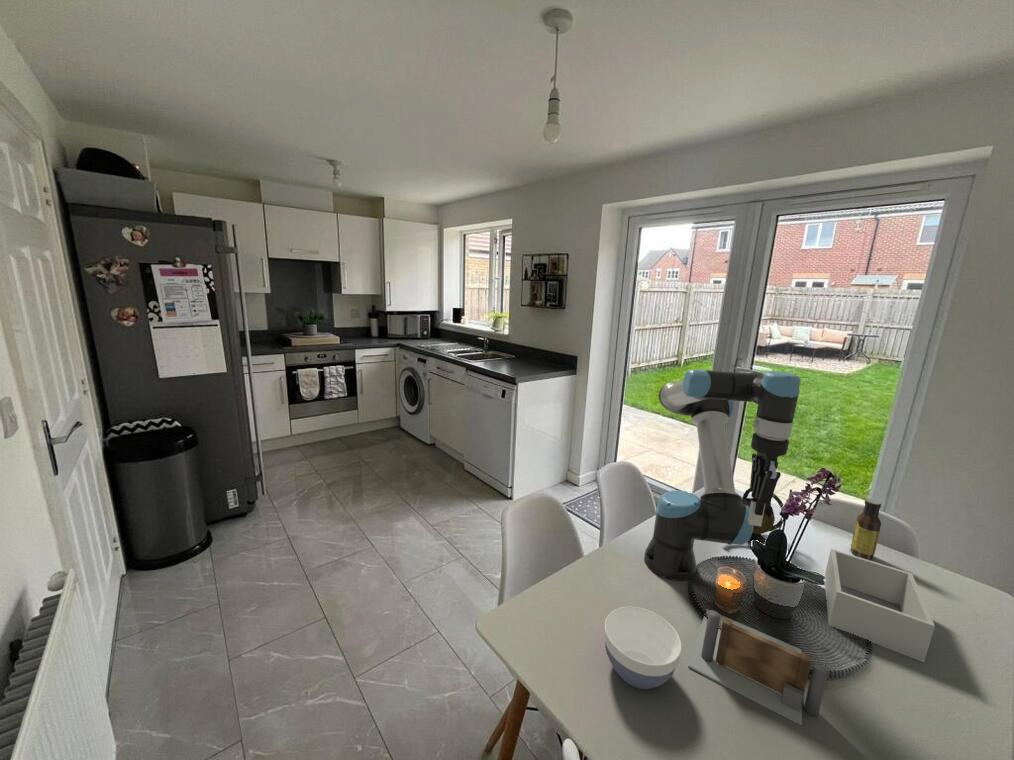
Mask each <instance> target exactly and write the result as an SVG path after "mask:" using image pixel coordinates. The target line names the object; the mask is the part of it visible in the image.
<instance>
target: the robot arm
mask: <svg viewBox="0 0 1014 760" xmlns="http://www.w3.org/2000/svg"><path fill="white" fill-rule="evenodd" d="M800 387H801V378H800V376H798V375H797V374H794V373H788V372H783V371H766V372H765V373H762V372H757V371H747V372H734V371H719V370H718V371H717V370H710V369H709V370H708V369H703V368H702V369H700V368H699V369H688V370H686V372H685V374H684V376H683V380H680V381H671V382H670V381H669V382H668V383H665V384H664V385H663V386H662V387H661V388H660V390H659V392H658V401H659V404H660V405H661V407H663V408H664V409H665V410H666V411H668V412H670V413H671V414H675V415H680V416H688V417H690V418H691V423H692V424H693V425H694V426H696V429H697V435H698V436H697V437H698V438H697V439H698V444H699V455H700V462H701V472H702V480H703V489H704V492H703V493H702V494H701V495H700V497H699V496H698V495H696V494H695V493H693V492H688V491H685V490H676V489H675V490H669V491H666V492H664V493H662V494H661V495H660V496H659V498H658V501H657V504H656V508H655V511H656V512H655V519H654V528H653V533H652V537H651V540H650V541H649V543H648V545H647V547H646V548H645V551H644V558H643V560H644V563H645V564H646V566H647V567H648V568H649V570H651V571H652V572H653V573H655V574H657V575H658V576H660V577H663V578H665V579H668V580H672V581H689V580H691V579H693V578H694V577H695V576H694V575H696V573H697V562H696V555H695V551H694V542H695V541H702V542H703V541H704V542H712V543H717V544H727V545H736V546H737V545H738V546H739V545H740V546H742V545H745V544H746V543H748V541H749V539H750V537H751V535H752V532H753V527H754V525H755V526H761V525H762V519H763V514H764V509H765V504H769V505H770V502H771V503H772V500H773V497H772V496H773V493H774V494H775V490H776V486H777V485H778V481H779V479H780V478H781V476H782V474H781V473H782V472H780V471H777V469H778V465H779V461H778V457H780V456H781V457H782V456H785V455H787V453H788V449H789V443H790V440H789V439H790V438H791V436H792V435H791V434H792V429H793V426H794V418H795V417H794V416H795V413H796V410H797V409H796V408H797V404H798V400H799V395H800V393H801V392H800ZM734 401H735V402H745V403H753V404H756V405H757V410H756V414H755V420H753V421H752V424H753V425H754V427H753V431H754V433H752V438H751V444H750V447H751V449H752V450H753V451H756V453H752V454H751V472H750V483H749V488H750V493H751V494H750V495H751V497H750V498H751V505H750V507H749V506H747V505H743V502H742V497H743V496H742V495H740V494H739V493H737V492H736V489H735V483H734V482H735V481H734V475H733V469H732V462H731V457H730V450H729V444H728V438H727V431H726V424H727V423H728V422H729V419H730V418H731V417H732V415H733V413H734V409H735V408H734V406H735V405H734V404H735V403H734ZM693 576H694V577H693ZM692 577H693V578H692ZM690 578H691V579H690Z"/></svg>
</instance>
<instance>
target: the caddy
mask: <svg viewBox="0 0 1014 760" xmlns="http://www.w3.org/2000/svg"><path fill="white" fill-rule="evenodd" d="M913 575H914V574H913V573H911V572H908V571H905V570H902V569H900V568H899V569H898V568H896V567H892V566H889V565H885V564H883V563H879V562H876V561H872V560H867V559H863V558H860V557H857V556H855V555H854V554H850V553H847V552H845V551H844V552H843V551H840V550H837V549H834V548H830V551H829V556H828V560H827V565H826V569H825V572H824V577H825V580H826V581H825V580H824V589H825V599H826V600H827V601H826V600H825V601H826V611H827V620H828V626H829V627H832V628H834V627H835V628H834V629H836V630H837V629H838V630H839V629H840V630H839V631H842V630H843V631H842V632H844V631H846V632H845V633H847V632H849V633H848V634H850V633H851V634H850V635H852V634H854V635H853V636H855V635H856V637H857V636H859V637H858V638H860V637H863V638H865V639H868V640H869V641H868V642H870V641H871V643H873V644H876V645H878V646H879V647H880V646H881V647H883V648H886V649H888V650H891V651H894V652H896V653H899V654H901V655H904V656H906V657H908V658H911V659H914V660H916V661H919V662H922V663H925V660H926V657H927V654H928V650H929V647H930V644H931V641H932V638H933V637H932V636H933V634H934V631H935V628H936V627H935V623H934V621H933V618H932V616H931V615H930V611H929V609H928V607H927V605H926V603H925V601H924V597H923V596H922V594H921V591H920V589H919V586H918V584H917V581H916V579H915V577H914V576H913ZM842 586H843V587H845V588H848V589H852V590H854V591H857V592H860V593H863V594H865V595H869V596H872V597H875V598H878V599H880V600H883V601H886V602H889V603H892V604H895V605H898V606H899V608H900V610H901V611H899V610H895V609H893V608H890V607H887V606H884V605H881V604H879V603H876V602H873V601H870V600H867V599H864V598H862V597H858V596H856V595H854V594H850V593H847V592H845V591H842ZM865 639H864V640H865Z"/></svg>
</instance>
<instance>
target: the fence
mask: <svg viewBox="0 0 1014 760" xmlns="http://www.w3.org/2000/svg"><path fill="white" fill-rule="evenodd" d="M706 610H707V611H708V612H709V613H708V619H707V618H706V617H705V616H704V615H703V618H702V621H701V625H700V627H699V630H698V634H697V638H696V640H695V643H694V647H693V649H692V653H691V656H690V659H689V662H688V666H687V668H689V669H691V670H692V671H695V672H697V673H699V674H700V675H702V676H704V677H706V678H708V679H710V680H712V681H713V682H716V683H718V684H719V685H722V686H724V687H725V688H728V689H730V690H732V691H733V692H736V693H737V694H740V695H742V697H745V698H746V699H749V700H750V701H753V702H755V703H757V704H759V705H760V706H762V707H764V708H766V709H768V710H771V711H772V712H774V713H776V714H778V715H779V716H782V717H783V718H786V719H787V720H789V721H791V722H794V723H795V724H798V725H799V726H802V725H803V710H804V711H805V713H807V714H808V715H809V716H812V717H815V718H816V717H818V716H819V712H820V708H821V704H822V702H823V696H824V692H825V690H826V689H825V688H826V684H827V681H828V676H829V671H828V670H827V669H826V667H824V666H822V665H820V664H814V665H813V666H812V670H811V674H810V679H809V683H808V687H807V691H806V695H805V696H806V697H805V701H804V704H803V703H802V704H801V701H802V702H803V699H802V697H803V698H804V695H803V691H801V690H799V689H797V688H795V687H793V686H790V685H788V684H786V683H785V685H784V690H783V694H781V693H779V692H777V691H775V690H773V689H771V688H769V687H767V686H765V685H763V684H761V683H759V682H757V681H755V680H753V679H751V678H749V677H747V676H745V675H743V674H741V673H739V672H737V671H735V670H733V669H731V668H729V667H727V666H725V665H721V664H719V663H717V662H715V661H716V655H717V650H718V644H719V639H720V633H721V630H720V629H718V628H719V623H721V625H722V622H723V619H724V618H726V619H728V620H730V621H732V622H731V623H732V624H734V625H736V626H739V627H741V628H743V629H745V630H748V631H750V632H752V633H754V634H757V635H759V636H761V637H763V638H766V639H768V640H770V641H772V642H775V643H777V644H779V645H781V646H784V647H786V648H788V649H790V650H793V651H795V652H797V653H799V654H801V653H802V652H803V651H802V649H800V648H799V647H796V646H794V645H791V644H789V643H787V642H784V641H783V640H780V639H779V638H775V637H773V636H771V635H768V634H766V633H764V632H761V631H760V630H757V629H754V628H752V627H749V626H748V625H745V624H743V623H741V622H738V621H736V620H733V619H731V618H729V617H727V616H724V615H723V614H720V613H719V612H718V611H716V610H711V609H708V608H706V609H705V611H706Z"/></svg>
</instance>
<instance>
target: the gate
mask: <svg viewBox="0 0 1014 760" xmlns="http://www.w3.org/2000/svg"><path fill="white" fill-rule="evenodd" d="M731 622H732V621H730V620H728V619H726V618H724V619H723V622H722V628H721V633H720V639H719V644H718V650H717V655H716V661H715V662H717V663H719V664H721V665H725V666H727V667H729V668H731V669H733V670H735V671H737V672H739V673H741V674H743V675H745V676H747V677H749V678H751V679H753V680H755V681H757V682H759V683H761V684H763V685H765V686H767V687H769V688H771V689H773V690H775V691H777V692H779V693H781V694H783V690H784V685H785V683H786V684H788V685H790V686H793V687H795V688H797V689H799V690H801V691H803V697H802V701H801V704H802V705H803V703H802V702H803V699H804V695H805V690H806V686H807V681H808V678H809V673H810V669H811V664H812V655H809V654H807V653H805V652H803V651H801V652H802V653H801V654H799V653H797V652H795V651H793V650H790V649H788V648H786V647H784V646H781V645H779V644H777V643H775V642H772V641H770V640H768V639H766V638H763V637H761V636H759V635H757V634H754V633H752V632H750V631H748V630H745V629H743V628H741V627H739V626H736V625H734V624H732V623H731Z"/></svg>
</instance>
